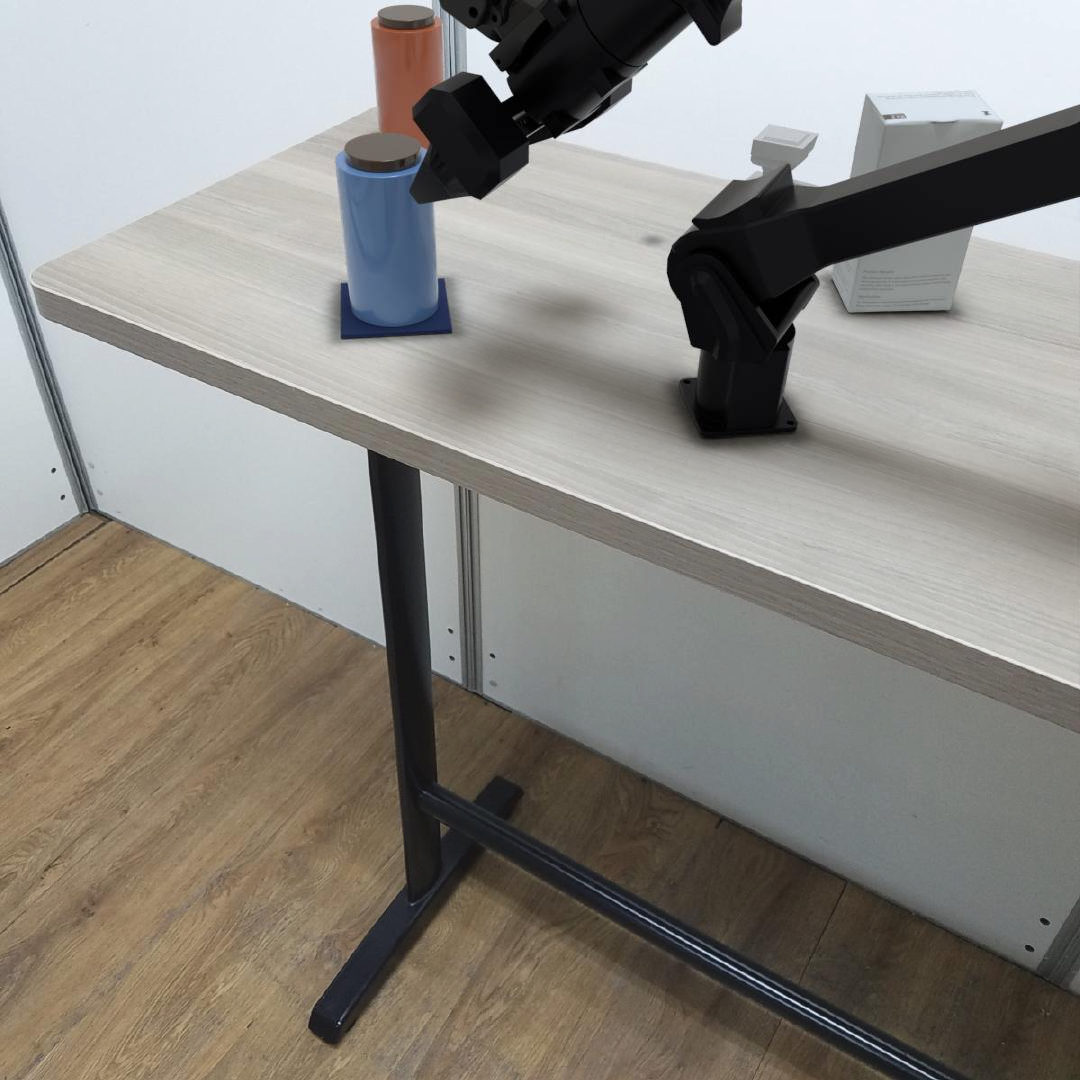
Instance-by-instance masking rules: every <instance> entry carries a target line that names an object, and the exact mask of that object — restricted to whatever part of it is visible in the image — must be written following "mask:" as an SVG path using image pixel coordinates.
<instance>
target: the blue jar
mask: <svg viewBox="0 0 1080 1080" xmlns="http://www.w3.org/2000/svg"><path fill="white" fill-rule="evenodd" d="M426 152H427V150H426V149H425V148H423V147H421V144H420V142H419V141H418V140H416V139H415V138H413V137H410V136H407V135H403V134H397V133H379V132H373V133H367V134H362V135H358V136H356V137H353V138H351V139H349V140H348V141H347V142H346V143H345V145H344V146H343V149H342V150H341V151H339V152H338V153H337V154H336V156H335V158H334V167H335V175H336V184H337V193H338V202H339V213H340V222H341V231H342V232H341V233H342V240H343V251H344V258H345V268H346V269H345V270H346V277H347V278H346V279H347V283H348V288H349V297H350V306H351V311H352V313H353V314H354V315H355V316H356V317H357V318H358V319H359V320H361V321H363V322H365V323H368V324H371V325H376V326H382V327H402V326H409V325H413V324H417V323H420V322H422V321H424V320H426V319H428V318H430V317H431V316H432V315H434V314H435V312H436V311H437V309H438V307H439V290H438V278H439V274H438V273H439V271H438V251H437V250H438V249H437V230H436V229H437V228H436V210H435V202H432V203H426V204H421V205H420V204H418V203H417V202H416V201H415V200H414V198H413V197H412V196H411V194H410V192H409V189H410V187H411V185H412V182H413V180H414V178H415V176H416V174H417V172H418V169H419V167H420V165H421V163H422V161H423V159H424V156H425V154H426Z"/></svg>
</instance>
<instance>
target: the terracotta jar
mask: <svg viewBox="0 0 1080 1080" xmlns="http://www.w3.org/2000/svg"><path fill="white" fill-rule="evenodd" d="M376 14H377V16H375V17H373V18H372V19H371V20H370V23H369V24H370V35H371V36H370V38H371V48H372V49H371V50H372V60H373V73H374V74H373V75H374V85H375V99H376V110H377V111H376V112H377V123H378V133H397V134H403V135H407V136H410V137H413V138H415V139H416V140H418V141H419V142H420V144H421V147H423V148H425V149H426V150H427V149H428V146H429V143H430V142H429V141H428V139H427V138H426V137H425V135H424V134H423V133H422V131H421V130H420V129H419V127H418V126H417V125H416V123H415V122H414V121H413V117H412V107H413V106H414V105H415V104H416V103H417V102H418V101H419V100H420V99H421V98H422V97H423V96H424V95H425V93H426V92H427V91H428V90H429V89H430V88H432V87H434V86H436V85H437V84H439V83H441V82H443V81H445V80H446V70H445V47H444V46H445V44H444V43H445V41H444V21H443V19H442V18H441V17H439V16H436V13H435V10H434V9H432V8H430V7H427V6H424V5H417V4H397V5H396V4H395V5H389V6H385V7H383V8H380V9H379V10H378V11H377V13H376Z"/></svg>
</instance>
